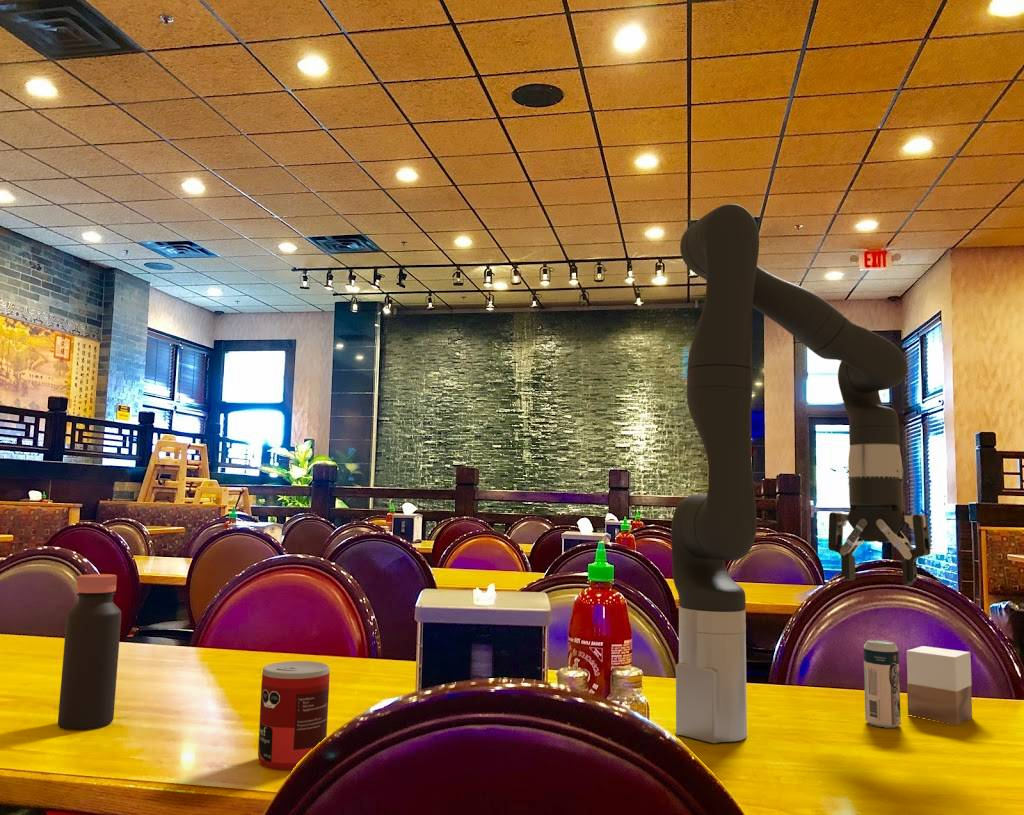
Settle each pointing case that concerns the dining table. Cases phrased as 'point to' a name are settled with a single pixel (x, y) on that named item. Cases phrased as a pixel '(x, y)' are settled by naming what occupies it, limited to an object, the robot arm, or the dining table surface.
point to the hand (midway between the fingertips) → (878, 582)
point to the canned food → (292, 712)
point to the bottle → (90, 655)
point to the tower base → (939, 704)
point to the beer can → (882, 683)
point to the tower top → (939, 668)
